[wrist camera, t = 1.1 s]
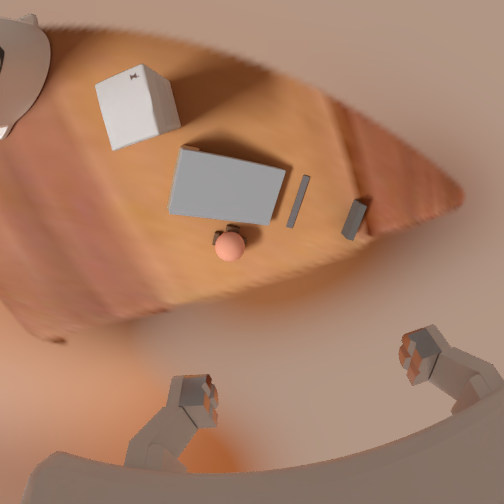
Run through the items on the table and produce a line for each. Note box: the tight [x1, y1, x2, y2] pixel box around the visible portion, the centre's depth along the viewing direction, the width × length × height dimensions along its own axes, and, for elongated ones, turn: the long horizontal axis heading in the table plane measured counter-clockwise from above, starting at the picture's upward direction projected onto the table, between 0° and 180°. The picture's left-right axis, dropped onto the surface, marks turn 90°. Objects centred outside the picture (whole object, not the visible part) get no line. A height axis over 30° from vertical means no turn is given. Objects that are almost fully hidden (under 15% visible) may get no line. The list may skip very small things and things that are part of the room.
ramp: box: [167, 145, 286, 225], centre depth 31 cm, size 12×7×4 cm, turn 74°
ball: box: [215, 232, 245, 261], centre depth 34 cm, size 4×4×4 cm
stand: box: [213, 225, 246, 245], centre depth 36 cm, size 4×4×1 cm
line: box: [286, 175, 310, 228], centre depth 34 cm, size 1×7×1 cm, turn 164°
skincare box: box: [95, 64, 181, 151], centre depth 22 cm, size 6×4×12 cm
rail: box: [341, 200, 367, 241], centre depth 35 cm, size 1×5×2 cm, turn 163°
